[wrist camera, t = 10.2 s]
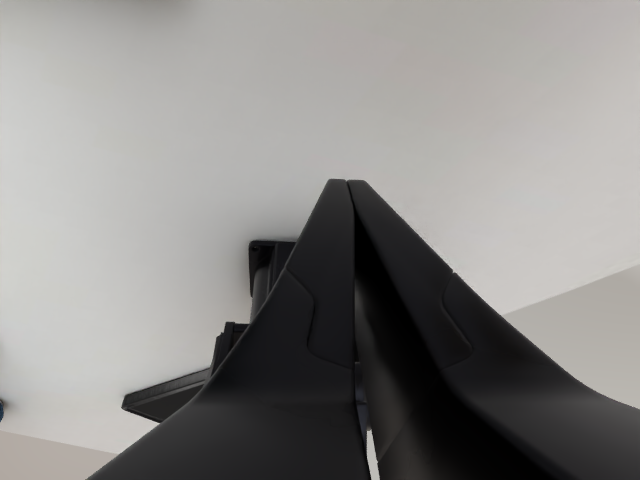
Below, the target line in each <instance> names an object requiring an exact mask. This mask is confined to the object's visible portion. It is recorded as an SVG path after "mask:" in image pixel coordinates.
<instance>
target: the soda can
mask: <svg viewBox="0 0 640 480" xmlns="http://www.w3.org/2000/svg"><path fill="white" fill-rule="evenodd" d="M3 415H4V412H3V403H2V401H1V400H0V422H1V420H2V418H3Z"/></svg>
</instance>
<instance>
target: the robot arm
mask: <svg viewBox="0 0 640 480" xmlns="http://www.w3.org/2000/svg"><path fill="white" fill-rule="evenodd" d="M254 247H258V248H254ZM249 270H250V292H251V297H252V307H251V317H250V324H238V323H235V322H226V324H225V329H224V333H223V332H221V335H219V336H217V338H216V344H215V350H214V355H213V359H212V363H211V366H210V369H209V371H208V374H207V377H206V380H205V382H204V385H203V388H202V389H201V390H200V391H199V392H198V393H197V394H196V395H195V396H194V397H193V398H192V399H191V400H190V401H189V402H188V403H187V404H185V405H184V406H183V407H182V408H180V409H179V410H178V411H176V412H175V413H174V414H172V415H171V416H170V417H168V418H167V419H166V420H164V421H163V422H162V423H160V424H159V425H158V426H156V427H155V428H154V429H152V430H151V431H150V432H148V433H147V434H146V435H144V436H143V437H142V438H140V439H139V440H138V441H136V442H135V443H134V444H132V445H131V446H130V447H128V448H127V449H126V450H124V451H123V452H122V453H120V454H119V455H118V456H117V457H115V458H114V459H113V460H111V461H110V462H109V463H107V464H106V465H104V466H103V467H102V468H101V469H99V470H98V471H96V472H95V473H94V474H93V475H91V476H90V477H89V478H87V479H86V480H371V475H370V470H369V465H368V460H367V431H370V430H372V435H373V441H374V446H375V452H376V458H377V461H378V463H377V464H378V470H379V476H380V480H640V409H637V408H635V407H632V406H629V405H626V404H623V403H621V402H618V401H615V400H613V399H611V398H608V397H606V396H604V395H602V394H600V393H598V392H596V391H594V390H593V389H591V388H589V387H587V386H586V385H584V384H583V383H581V382H580V381H578V380H577V379H575V378H574V377H573V376H571V375H570V374H569V373H568V372H566V371H565V370H564V369H563V368H561V367H560V366H559V365H558V364H557V363H555V362H554V361H553V360H552V359H551V358H550V357H549V356H547V355H546V354H545V353H544V352H543V351H541V350H540V349H539V348H538V347H537V346H536V345H534V344H533V343H532V342H531V341H529V340H528V339H527V338H526V337H525V336H523V334H521V333H520V332H519V331H518V330H517V329H516V328H514V327H513V326H512V325H511V324H510V323H508V322H507V321H506V320H505V319H504V318H503V317H502V316H501V315H499V314H498V313H497V312H496V311H495V310H494V309H493V308H491V307H490V306H489V305H488V304H487V303H486V302H485V301H484V300H483V299H482V298H481V297H480V296H479V295H478V294H477V293H475V292H474V291H473V290H472V289H471V288H470V287H469V286H468V285H467V284H466V283H465V282H464V281H463V280H462V279H461V278H460V277H459V276H458V275H457V274H456V273H453V270H452V269H451V268H450V267H449V266H448V265H447V264H446V263H445V262H444V261H443V260H442V259H441V258H440V257H439V256H438V254H437V253H436V252H435V251H434V250H433V249H432V248H431V247H430V246H429V245H428V244H427V243H426V242H425V241H424V240H423V239H422V238H421V237H420V236H419V235H418V234H417V233H416V232H415V231H414V230H413V229H412V228H411V227H410V226H409V225H408V224H407V223H406V222H405V221H404V220H403V219H402V218H401V217H400V216H399V215H398V214H397V213H396V212H395V211H394V210H393V209H392V208H391V207H390V206H389V205H388V204H387V203H386V202H385V201H384V200H383V199H382V198H381V197H380V196H379V195H378V194H377V192H376V191H375V190H374V189H373V188H372V187H371V186H370V185H369V184H368V183H367V182H366V181H364V180H348V181H347V182H346V180H344V179H329V180H328V181H327V183H326V185H325V187H324V189H323V191H322V193H321V195H320V197H319V199H318V201H317V203H316V205H315V207H314V209H313V211H312V213H311V215H310V217H309V219H308V221H307V223H306V225H305V227H304V229H303V231H302V233H301V235H300V237H299V239H298V241H297V242H277V241H252V242H250V243H249Z"/></svg>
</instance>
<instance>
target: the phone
mask: <svg viewBox="0 0 640 480" xmlns="http://www.w3.org/2000/svg"><path fill="white" fill-rule="evenodd" d="M208 371H209V369H208V370H205V371H201V372H198V373H195V374H192V375H189V376H186V377H183V378H180V379H177V380H174V381H171V382H168V383H165V384H162V385H159V386H156V387H152V388H149V389H146V390H143V391H140V392H137V393H134V394H131V395H128V396H126V397H125V398H124V400H123V403H122V407H121V408H122V409H123V410H125V411H128V412H131V413H133V414H136V415H139V416H141V417H144V418H147V419H150V420H152V421H155V422H158V423H162V422H163V421H164V420H166V419H167V418H168V417H170V416H171V415H172V414H174V413H175V412H176V411H178V410H179V409H180V408H182V407H183V406H184V405H185V404H187V403H188V402H189V401H190V400H191V399H192V398H193V397H194V396H195V395H196V394H197V393H198V392H199V391H200V390H201V389H202V388H203V385H204V382H205V380H206V377H207V374H208Z"/></svg>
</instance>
